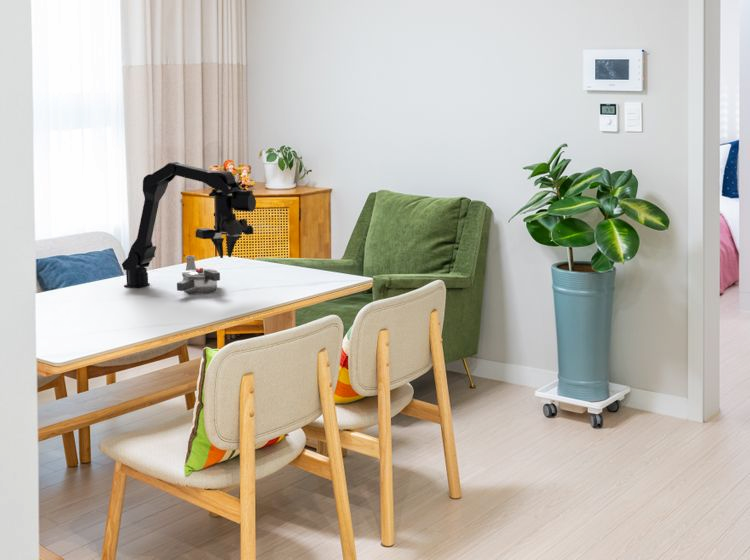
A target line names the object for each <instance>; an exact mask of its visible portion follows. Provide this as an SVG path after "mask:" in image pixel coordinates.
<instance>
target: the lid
mask: <svg viewBox="0 0 750 560" xmlns="http://www.w3.org/2000/svg"><path fill="white" fill-rule="evenodd" d="M185 270H186V269H185ZM185 270H183V271H182V272H181V277H182V278H183V277H186V278H207V279H210V280H213V281H217V282H218V281H221V275H220V274H221V273H220V272H219V271H218V270H216V269H213V268H211V269H210V268H204V267H196V269H192V270H186V271H185Z"/></svg>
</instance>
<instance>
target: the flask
mask: <svg viewBox="0 0 750 560" xmlns="http://www.w3.org/2000/svg"><path fill="white" fill-rule="evenodd" d="M195 258H196V256H195V255H186V256H185V259H186V266H185V267H186V268H185V270H184V271H186V270H192V269H196V268H197V267H196V263H195ZM181 281H183V279H182V280H181Z"/></svg>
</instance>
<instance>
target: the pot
mask: <svg viewBox="0 0 750 560" xmlns="http://www.w3.org/2000/svg"><path fill="white" fill-rule="evenodd" d="M182 280H183V281H182ZM182 280H181V281H178V282H176V290H177V291H180V292H183V293H186V294H190V295H205V294H211V293H215V292H217V291H218V281H213V280H210V279H207V278H186V277H183V276H182Z"/></svg>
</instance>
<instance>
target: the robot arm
mask: <svg viewBox="0 0 750 560" xmlns="http://www.w3.org/2000/svg"><path fill="white" fill-rule="evenodd" d="M175 177H181V178H186V179H188V180H193V181H197V182H201V183H204V184H205V185H207V186H208V187H210V188H212V191H211V192H210V193H208V196H209V197H214V210H215V212H213V217H215V224H214V225H213V229H212V228H210V227H209V228H208V227H202V228H201V227H200V228H197V229H196V230H195V238H197V239H202V240H211V242H212V244H213V245H214V247H215V249H216V251H217V254H218V255H219V257H220V259H223V258H224V247H223V246H224V244H223V243H224V239H225V241H226V250H227V251H226V252H227V256H228V258H232V255H233V252H234V248H235V245H236V243H237V241H238V240H239V239H240V238H241V239H242V237H243V235H242V234H244V235H246V236H247V235H248V236H249V235H254V227H253V226H252V225H250V224H248V220H247V219H246V218H241V219H237V217H236V213H234V211H235V212H249V213H250V212H252V213H253V212H254V211H255V209H256V205H257V200H256V196H255V195H254V193H253V190H250V189H249V190H242V188H241V187H240V185H239V184H238V183H237V181H236V179H235V178H236V177H235V176H234V174H233V172H231V171H230V170H229V171H228V170H208V169H203V168H200V167H196V166H193V165H192V166H191V165H189V164H184V163H180V162H178V161H172V162H168V163H167V164H165V165H164V166H163V167H161V168H160V169H157V170H156V171H154V172H153V173H150V174H147V175H145V176H144V177H143V180H142V193H143V196H144V201H143V206H142V212H141V217H140V221H139V226H138V231H137V236H136V239H135V240H134V242H133V244H132V245H131V247H130V249H129V252H128V254H127V258H126V259H125V260H124V261H123V262H122V263H121V266H122V269H123V271H125V272H126V273H125V274H126V276H125V278H126V284H124V285H123V287H124V288H134V289H135V288H136V289H142V288H143V287H148V286H150V285H151V283H150V282H149V274H148V271H147V269H148V267H149V266H150V263H151V262H152V261H153V259H154V258H155V257H156V256H155V254H156V250H157V246H156V245H153V241H152V238H153V233H154V230H155V229H154V228H155V225H156V219H157V214H158V210H159V206H160V205H159V204H160V201H161V199H162V197H164V195H165V193H166V191H167V188H168V185H169V183H170V182H171V181H173V180H174V179H175ZM223 235H225V237H222V236H223Z"/></svg>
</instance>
